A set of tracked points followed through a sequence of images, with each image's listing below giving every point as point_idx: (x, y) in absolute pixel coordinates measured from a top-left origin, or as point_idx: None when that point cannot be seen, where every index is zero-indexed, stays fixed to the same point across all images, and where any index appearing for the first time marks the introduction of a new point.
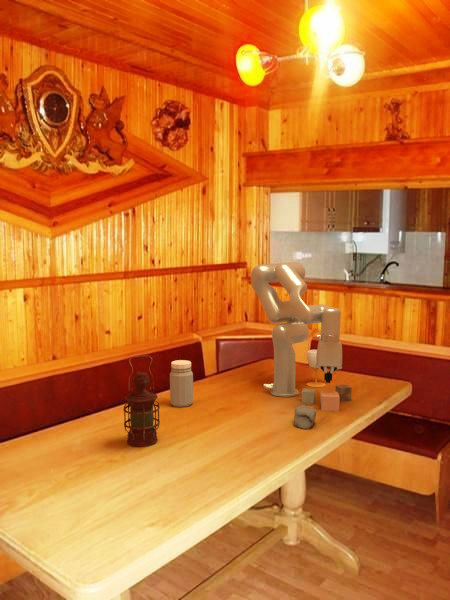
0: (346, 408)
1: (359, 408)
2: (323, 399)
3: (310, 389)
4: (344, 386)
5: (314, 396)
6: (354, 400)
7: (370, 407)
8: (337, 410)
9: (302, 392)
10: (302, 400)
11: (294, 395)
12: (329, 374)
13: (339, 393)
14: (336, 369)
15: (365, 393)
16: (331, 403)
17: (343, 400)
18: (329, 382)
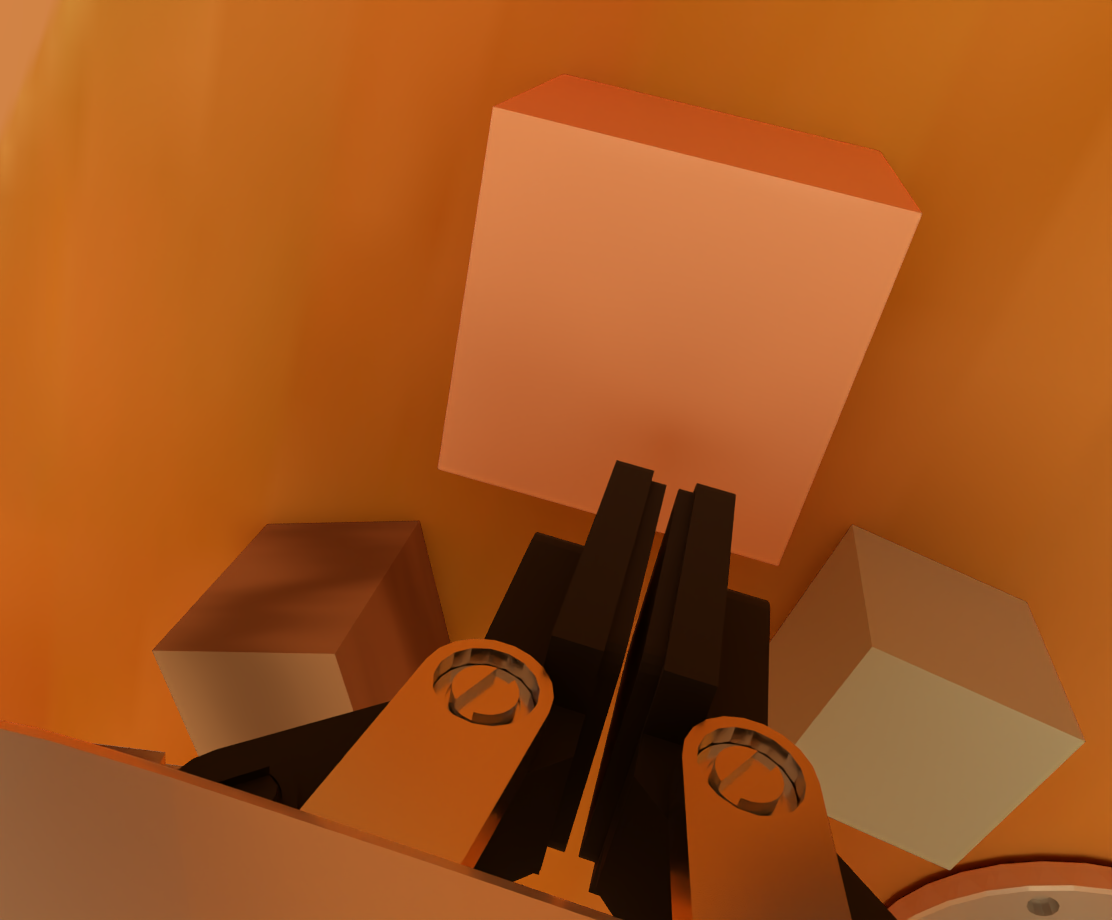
0: (404, 204)
1: (203, 171)
2: (871, 186)
3: (850, 800)
4: (257, 720)
5: (806, 653)
6: (223, 538)
7: (40, 195)
8: (594, 81)
9: (1070, 723)
10: (1027, 624)
11: (982, 872)
12: (606, 631)
13: (385, 624)
14: (217, 754)
15: (69, 731)
16: (694, 125)
17: (369, 531)
18: (639, 471)
